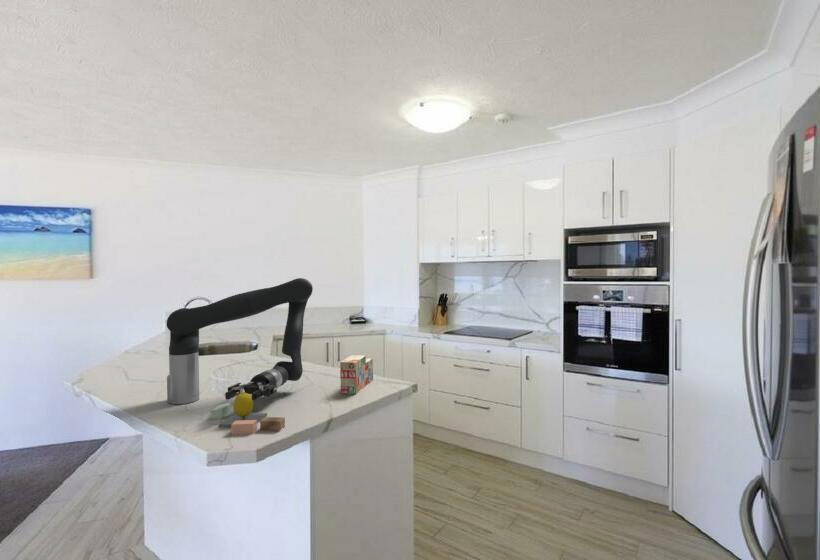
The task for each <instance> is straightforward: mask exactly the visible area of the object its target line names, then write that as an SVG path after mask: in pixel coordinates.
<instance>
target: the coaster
mask: <svg viewBox="0 0 820 560" xmlns="http://www.w3.org/2000/svg"><path fill="white" fill-rule="evenodd" d="M265 417H268V413H267V412H251V413H250V414H249V415H247V416H246V417H245V418H242V417H240V416H238V415H237V414H236V413H234V414H233V415H231V416H228V417H227V418H226V419H225V420H222V421H221V422H219V423H218V427H223V428H231V424H232V423H234V422H235V421H238V420H257V424H258V423H259V422H260V421H261V420H262V419H263V418H265Z"/></svg>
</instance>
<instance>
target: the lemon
mask: <svg viewBox="0 0 820 560" xmlns="http://www.w3.org/2000/svg"><path fill="white" fill-rule="evenodd" d="M253 409H254V400H252V395H249V394H247V393H245V391H243V392H242V393H241V394H239V395H238V396H235V397H234V402H233V411H234V414H237V415H238V416H240V417H242V418H245V417H246V416H247V415H249V414H250V413H252V412H253Z"/></svg>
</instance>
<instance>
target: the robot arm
mask: <svg viewBox="0 0 820 560" xmlns="http://www.w3.org/2000/svg"><path fill="white" fill-rule="evenodd" d="M313 289H314V288H313V284H312V282H311V281H310V280H308V279H306V278H301V277H298V278H294V279H292V280H290V281H286V282H284V283H281V284H279V285H275V286H272V287H270V286H269V287H266V288H260V289H255V290H250V291H245V292H241V293H238V294H232V295H230V296H227V297H225V298H222V299H220V300H217V301H215V302H213V303H209V304H206V305H202V306H201V305H200V306H197V307H190V308H189V307H183V308H178V309H176V310H174V311H173V312H171V313H170V314H169V316H168V317H167V320H166V328H167V329H168V331H169V339H170V340H169V346H168V363H169V367H168V369H169V373H168V375H167V376H166V395H167V396H166V398H167V399H166V400H167V403H170V404H172V405H184V404H190V403H194V402H196V401H199V400H200V362H199V361H200V360H199V350H200V349H199V348H200V347H199V344H200V329H203V328H206V327H209V326H212V325H215V324H221V323H228V322H233V321H237V320H242V319H244V318H249V317H252V316H255V315H258V314H261V313H264V312H266V311H268V310H270V309H272V308H274V307H276V306H281V305H284V304H288V310H287V311H288V312H287V317H286V318H287V319H286V325H285V327H284V328H285V329H284V335H283V340H282V347H281V352H282V354H284V355H286V356H289V357H290V358H291V361H285V360H282V361H277V362H276V363H275V364H274V366H273V367H272V368H271V369H267V370H264V371H262V372H260V373H258V374H256V375H254V376H253V377H252V378H251V379H250V381H249V382H247V383H241V382H237V383H235V384H233V385H231V386H227V391H226V392H225V394H224V397H225V400H228V401H229V400H230V399H232V398H236V397H237V396H238V395H239V394H241V393H242V392H245V393H247V394H249V395H250V396H251V397H252V400H253V401H256V400H259V398H264V397H267V398H270V397H272V396H273V395H275V394H276V393H277V392H278V388H280V387H282V386H283V385H285V384H286V383H287V381H291V382H298V381H299V380H300V379H301V377H302V375H303V369H304V368H303V362H302V354H301V353H302V352H301V351H302V344H303V335H304V334H303V333H304V318H305V312H306V306H307V304H308V300H309V299H310V297H311V296H312V295H313Z"/></svg>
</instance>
